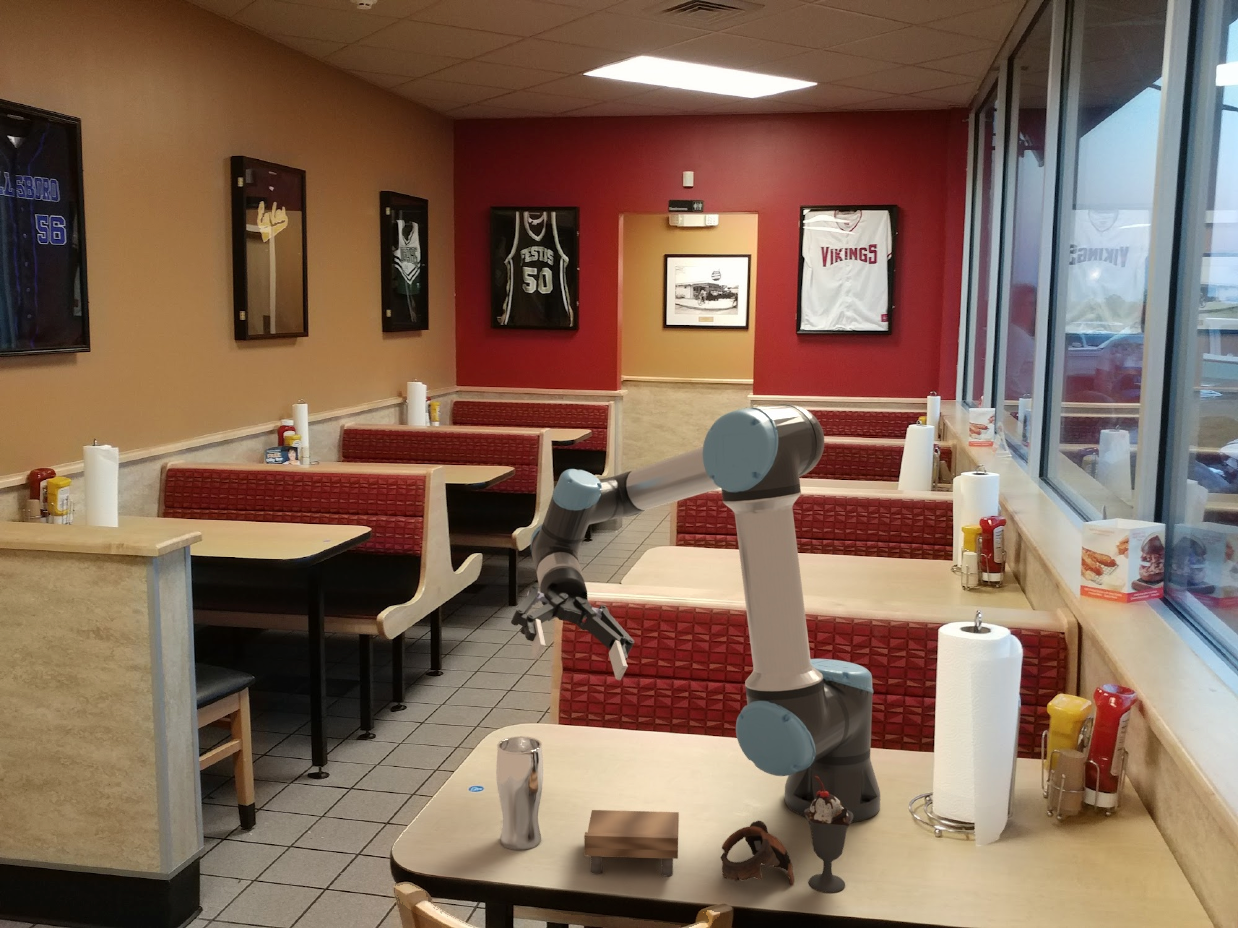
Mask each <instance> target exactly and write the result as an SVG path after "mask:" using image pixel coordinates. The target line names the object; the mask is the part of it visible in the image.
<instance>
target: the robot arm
mask: <svg viewBox="0 0 1238 928" xmlns="http://www.w3.org/2000/svg"><path fill="white" fill-rule="evenodd" d="M824 449H825V436H824V429H823V428H822V425H821V424H820V422H819V420H818V418H817V417H816V416H815V415H814V414H813V413H812V412H811V411H809V410H808V409H806V408H804V407H802V406H800V405H795V404H792V403H791V404H790V403H789V404H787V403H781V404H776V405H768V406H767V405H766V406H757V407H756V406H754V407H744V408H741V409H740V408H739V409H737V410H733V411H730V412H727V413H725V414H723V415H721V416H720V417H719V418H718V419H716V420H715V421H714V423H713V424H712V425H711V427H710V428H709V429H708V431H707V432H706V435H705V438H704V441H703V446H702V447H698V448H695V449H693V450H689V451H687V452H684V453H680V454H678V455H674V456H672V457H669V458H666V459H665V458H664V459H663V460H660V461H657V462H654V463H651V464H647V465H645V466H642V467H639V468H635V469H632V470H630V471H627V472H623V473H619V474H618V475H614V476H609V477H603V478H598V476H596V475H594V474H592V473H590V472H589V471H586V470H584V469H575V468H569V469H566V470H564V471H562V472H561V474H560V476H559V478H558V481H557V483H556V486H555V487H554V489H553V491H552V495H551V499H550V501H549V505H548V507H547V511H546V514H545V516H544V520H543V522H542V524H540V525H539V526H538V527H536V529H534V531H532V534H531V537H530V552H531V553H530V554H531V557H532V560H533V565H534V568H535V572H536V576H537V582H538V585H539V589H538V587H537V586H536V585H533V584H532V585H530V586H529V589H528V591H527V594H526V596H525V598H524V600H523V601H522V602H521V603H520V605H519V606H517V608H516V610H515V612H514V615H513V616H512V619H511V620H510V624H512V625H514V626H515V627H516V626H518V625H520V626H521V628H520V631H519V632H520V633H521V634H522V635H524V636H525V638H526V640H527V641H529V642H530V644H531V648H532V649H531V651H532V656H533V659H535V660H537V661H538V660H540V658H541V655H542V654H543V652H544V649H545V647H546V641H545V637H544V631H543V627H542V624H543V623H545V622H547V621H548V622H550V621H552V620H553V619H555V618H557V619H558V620H559V621H563V622H569V623H571V624H575V625H576V626H577V627H579V629H581V630H582V631H587V632H588V633H590V635H592V636H593V637H594V638H595V639H596V640H598V642H600V643H601V644H602V645H603V646H605V647H606V648H607V649H608V650H609V651H608V657H609V660H610V663H611V667H612V670H613V674H614V677H615V680H617V681H621V680H622V678H623V677H624V675H625V672H626V670H627V669H628V667H629V665H628V664H627V659H628V657H629V656H628V655H629V653H630V652H631V650H632V648H633V646H634V644H635V640H634V639H633V638H632V637H631V636H630V635H629V633H628V632H627V631H626V630H625V629H624V628H623V627H622V626H621V625H620V624H619V622H618V621H617V620H616V619H615V617H613V615H611V613H610V611H609V609H608V607H607V606H606V605H605V604H600V606H599V608H598V607H593V605H592V604H591V603H590V602H589V601H588V589H587V586H586V581H585V579H584V574H583V571H582V567H581V565H580V561H579V557H578V553H579V551H580V548H581V545H582V543H583V540H584V538H585V535H586V532H587V531H588V527H589V526H590V525H593V524H598V523H601V522H607V521H610V520H616V519H621V518H628V517H633V516H636V515H639V514H641V513H643V512H646V511H648V510H651V509H655V508H657V507H661V506H665V505H668V504H671V503H675V502H678V501H681V500H685V499H689V498H691V497H695V496H698V495H701V494H705V493H709V492H711V491H715V490H718V489H721V496H722V503H723V504H724V505H725V506H726V507H728V508H729V509H730V510H731V511H732V512H733V513H734V519H735V526H736V533H737V534H736V536H737V544H738V551H739V559H740V560H739V561H740V569H741V576H742V584H743V591H744V593H743V594H744V600H745V609H746V616H747V617H746V618H747V626H748V634H749V635H748V636H749V643H750V651H751V658H752V660H751V661H752V665H753V666H752V668H753V670H752V672H751V674H750V675H749V676H748V677H747V678H746V679H745V681H744V682H745V683H744V686H745V696H746V703H747V705H744V707H743V708H742V709H741V711H740V713H739V714H738V716H737V718H736V722H735V723H736V724H735V733H736V734H735V735H736V740H737V743H738V744H739V747H740V749H741V751H742V753H743V754H744V755H745V757H746V759H747V760H748V761H751V762H752V763H753V765H754V766H755V767H756V768H758V769H759V770H760V771H762V772H764V773H766V774H769V775H771V776H776V777H786V776H787V777H786V781H785V783H784V802H785V805H786V807H788V808H789V809H790V810H791V811H793V812H795V813H796V814H798V815H799V816H802V817H805V816H804V810H805V809H807V808H810V806H811V804H812V801H814V800H815V799H817V792H818V791H821V784H820V782H819V781H818V780H817V779H815V776H817V777H819V779H820V781H821V782H822V783H823V786H824V789H825V791H827V792H828V793H829V794H831V795H834V796H835V797H836V798H837V799H838V800H839V801H840V803H841V806H842V807H843V808H845V807H847V810H848V811H850V812H852V813H853V820H852V822H851V823H857V822H861V821H865V820H868V819H870V818H873V817H874V816H876V815H877V814H878V813H879V811H880V808H881V791H880V787H879V783H878V781H877V777H876V774H875V771H874V767H873V762H872V761H871V747H872V746H871V743H872V720H873V719H872V716H873V715H872V713H873V697H874V696H873V694H874V689H873V676H872V673H871V672H870V671H869V670H868V669H867V668H866V667H865V666H862V665H859V664H857V663H853V662H849V661H845V660H838V659H832V658H831V659H830V658H829V659H826V658H811V652H810V645H809V643H810V642H809V635H808V627H807V618H806V610H805V603H804V594H803V593H804V592H803V586H802V578H801V570H800V569H801V568H800V567H801V566H800V562H799V561H800V559H799V552H798V551H799V550H798V543H797V542H798V541H797V535H796V525H795V520H794V511H793V506H794V504H795V502H796V501H797V500H798V498H799V497H800V496H801V495H802V491H801V480H800V477H802V476H804V475H806V474H808V473H810V471H812V470H813V469H814V468H815V467H816V466H817V465H818V463H819V461H820V460H821V458H822V455H823V453H824ZM539 602H541V605H543V606H541V607H539V608H537V609H535V610H534V611H532V612H530V613H529V611H531V609H532V607H533V606H535V605H536V604H538V603H539ZM584 620H585V621H584ZM823 786H822V787H823ZM822 791H824V790H823V789H822Z"/></svg>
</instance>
